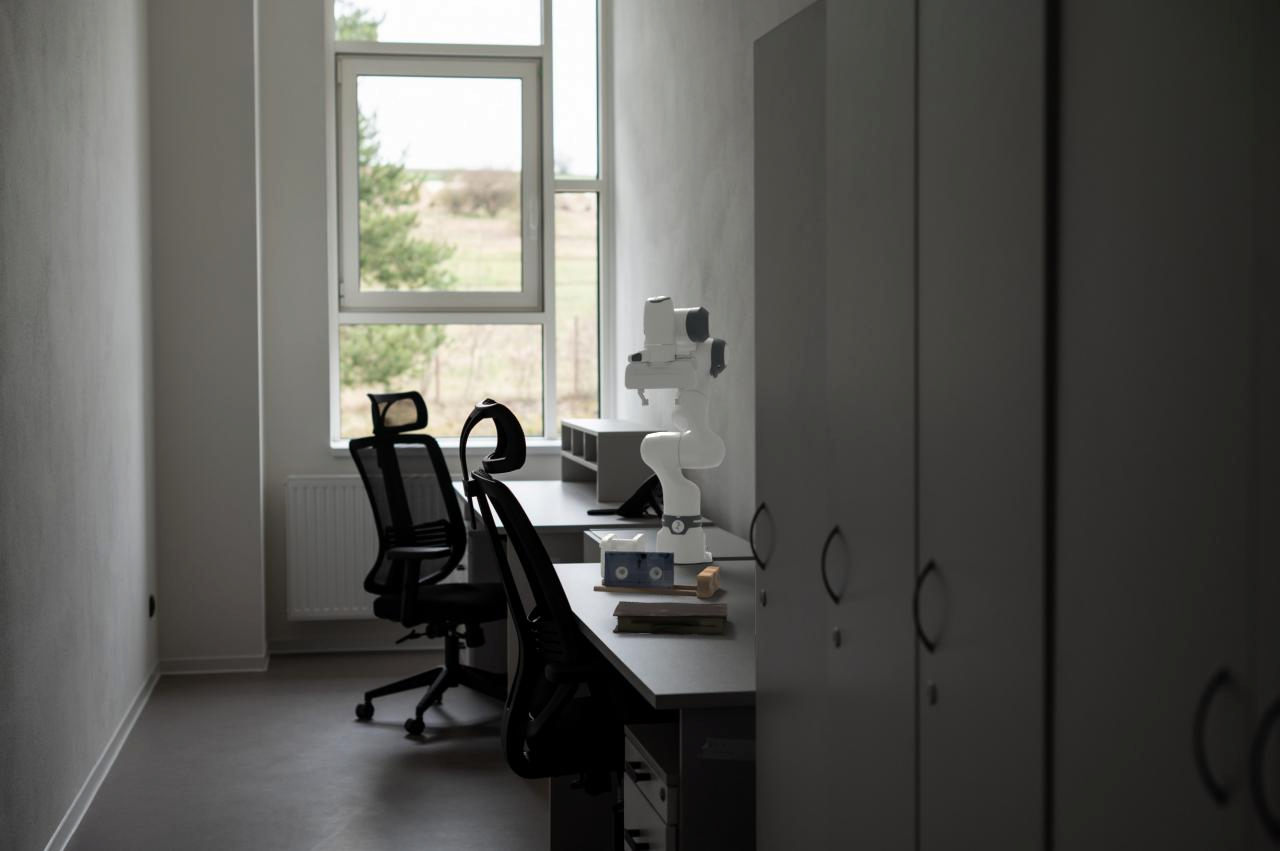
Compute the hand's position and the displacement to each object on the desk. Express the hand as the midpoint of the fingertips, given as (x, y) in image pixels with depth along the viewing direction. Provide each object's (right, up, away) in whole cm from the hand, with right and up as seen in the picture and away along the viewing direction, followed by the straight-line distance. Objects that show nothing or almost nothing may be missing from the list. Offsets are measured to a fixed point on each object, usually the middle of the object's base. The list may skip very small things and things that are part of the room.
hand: (661, 405), depth 350 cm
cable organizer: (-11, -48, +2) cm, 49 cm away
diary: (+1, -52, -66) cm, 83 cm away
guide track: (-2, -49, -19) cm, 52 cm away
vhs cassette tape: (-6, -49, -18) cm, 52 cm away
